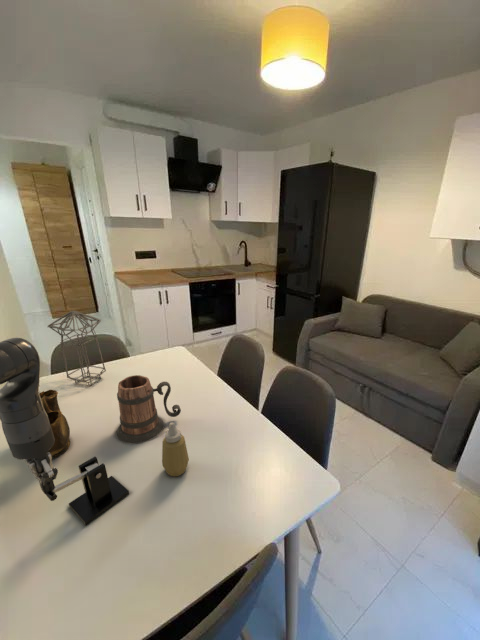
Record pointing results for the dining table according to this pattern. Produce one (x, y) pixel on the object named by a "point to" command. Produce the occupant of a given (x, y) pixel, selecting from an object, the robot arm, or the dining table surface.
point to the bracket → (97, 492)
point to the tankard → (140, 409)
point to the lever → (70, 482)
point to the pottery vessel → (56, 422)
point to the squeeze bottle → (174, 452)
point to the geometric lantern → (82, 316)
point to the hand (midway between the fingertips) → (49, 490)
